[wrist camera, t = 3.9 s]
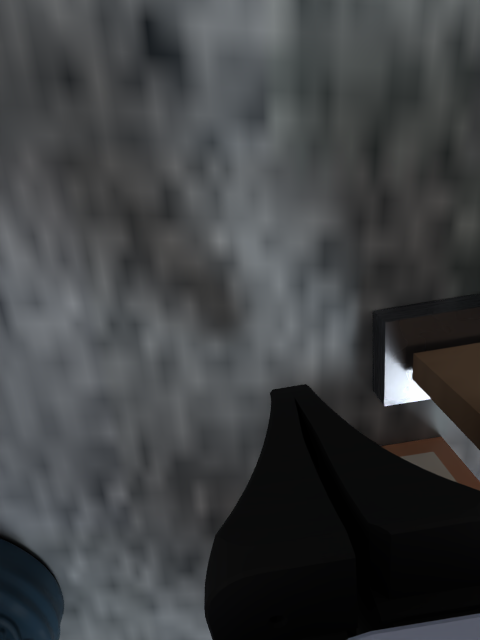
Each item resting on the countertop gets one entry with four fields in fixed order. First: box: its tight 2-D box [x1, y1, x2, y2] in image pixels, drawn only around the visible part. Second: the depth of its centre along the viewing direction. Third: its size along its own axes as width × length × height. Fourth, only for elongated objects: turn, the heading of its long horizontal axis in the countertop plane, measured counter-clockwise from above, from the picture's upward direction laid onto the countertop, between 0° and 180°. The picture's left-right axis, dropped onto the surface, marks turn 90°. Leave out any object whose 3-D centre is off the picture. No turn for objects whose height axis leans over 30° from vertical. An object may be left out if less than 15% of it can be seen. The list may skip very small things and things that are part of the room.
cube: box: [381, 437, 480, 491], centre depth 16 cm, size 5×5×5 cm
